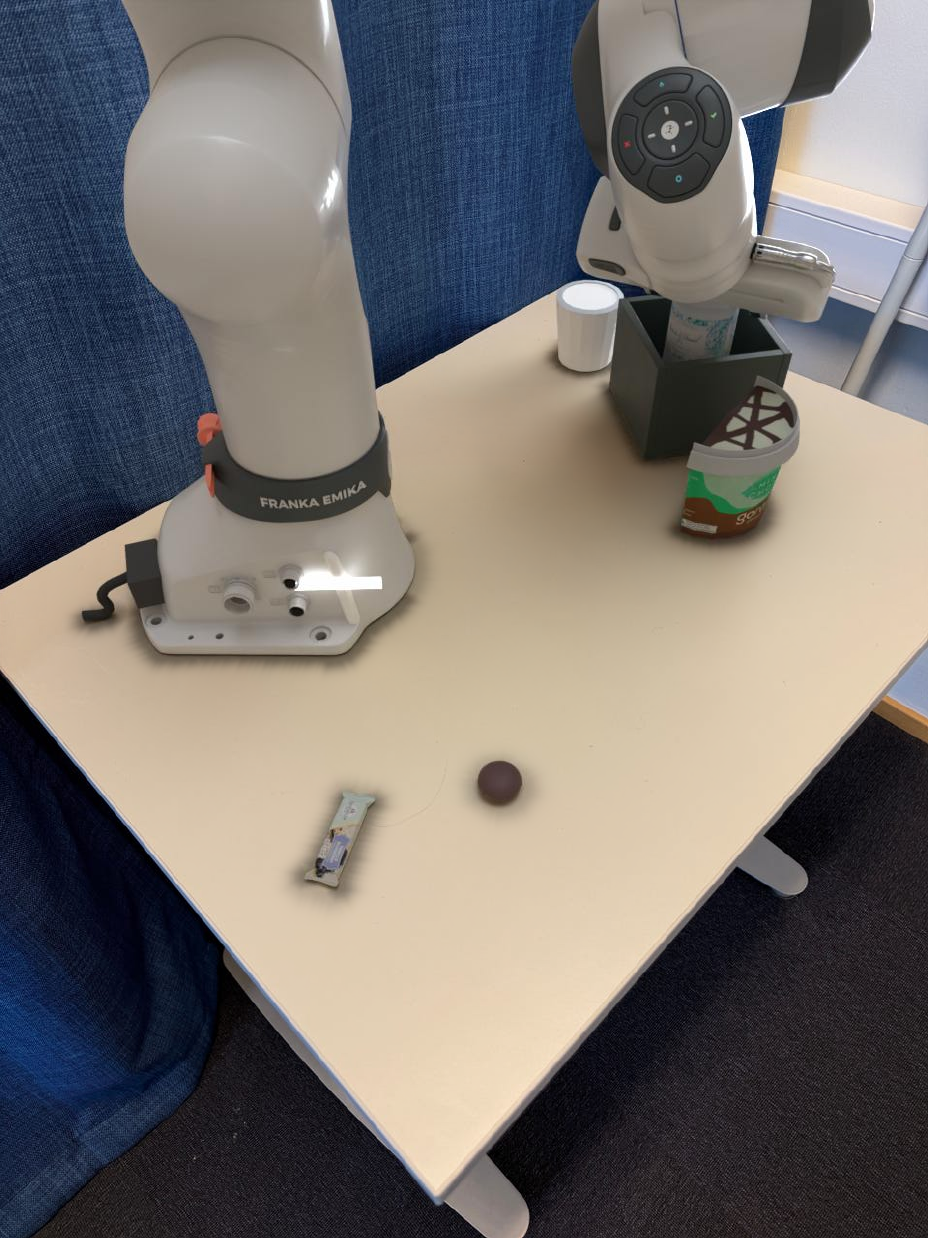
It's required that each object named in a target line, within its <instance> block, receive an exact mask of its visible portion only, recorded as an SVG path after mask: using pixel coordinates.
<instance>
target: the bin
mask: <svg viewBox="0 0 928 1238" xmlns="http://www.w3.org/2000/svg"><path fill="white" fill-rule="evenodd" d="M671 305H672V300H670V299H668V298H665V297H663V296H655V295H651V294H647V295H640V296H630V297H629V296H628V297H624V298H621V299H619V302H618V311H617V320H616V329H615V338H614V346H613V354H612V358H611V365H610V374H609V382H608V389H609V391H610V393H611V395H612V397H613V399H614V401H615V403H616V406H617V407H618V409H619V412H620V414H621V416H622V418H623V420H624V423H625V424H626V426H627V429H628V430H629V432H630V434H631V437H632V439H633V441H634V443H635V445H636V448H637V449H638V451H639V453H640V456H641V458H642V460H643V461H650V460H656V459H657V460H658V459H664V458H673V457H681V456H690V453H691V451H692V449H693V445H694V442H695V443H698V444H702V443H703V442H704V441H705V440H706V439H707V438H708V437H709V436H710V435H711V434H712V432H713V431H714V430H715V429H716V427H717V426H718V425H719V424H720V423H721V421H722V420H723V419H724V417H725V416H726V415H727V414H728V413H729V412H730V411H731V410H732V409H733V408H735V407H736V406H737V405H738V404H739V403H740V402H741V401H742V400H743V399H744V398H745V397H746V396H747V395H748V394H749V393H750V391H751V390H752V389H753V388H754V385H755V381H756V378H757V375H758V376H760V377H763V378H765V379H767V380H769V381H771V382H773V383H775V384H776V385H778V386H779V387H781V388H782V389H783V390H784V385H785V381H786V379H787V375H788V372H789V368H790V364H791V360H792V356H793V351H791V349H790V348H789V347H788V345H787V344H786V342H785V341H784V340H783V338H782V337H781V336H780V335H779V333H778V332H777V331H776V330H775V328H774V327H773V326H772V324H771V323H770V321H769V320H768V318H767V319H766V320H764V319H760V318H756V317H752V316H749V310H746V309H741V308H740V309H739V313H738V318H737V322H736V327H735V331H734V336H733V340H732V345H731V349H730V353H729V356H722V357H713V358H705V359H696V360H688V361H679V362H670V363H664V362H663V361H662V358H663V354H664V349H665V343H666V337H667V330H668V324H669V318H670V311H671Z"/></svg>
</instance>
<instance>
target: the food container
mask: <svg viewBox="0 0 928 1238" xmlns="http://www.w3.org/2000/svg"><path fill="white" fill-rule="evenodd" d="M800 431H801V418H800V415H799V410H798V407H797V405H796V402H795V401H794V399H793V398H792V396H791V395H790V394H789V393H788V392H787V391H786V390H784V388H783V389H782V388H781V387H779V386H778V385H776V384H775V383H773V382H771V381H769V380H767V379H765V378H763V377H760V376H758V375H757V378H756V381H755V385H754V388H753V389H752V390H751V391H750V393H749V394H748V395H747V396H746V397H745V398H744V399H743V400H742V401H741V402H740V403H739V404H738V405H737V406H736V407H735V408H733V409H732V410H731V411H730V412H729V413H728V414H727V415H726V416H725V417H724V419H723V420H722V421H721V423H720V424H719V425H718V426H717V427H716V429H715V430H714V431H713V432H712V434H711V435H710V436H709V437H708V438H707V439H706V440H705V441H704V442H703V443H702V444H698V443H695V442H694V445H693V449H692V451H691V453H690V455H689V456H688V460H687V464H686V468H688V469H689V470H688V476H687V482H686V489H685V496H684V502H683V509H682V515H681V523H680V528H679V532H681V533H684V534H685V535H689V536H691V537H696V538H701V539H702V538H703V539H706V540H707V539H708V540H726V539H732V538H736V537H738V536H739V537H740V536H742V535H745V534H746V533H748V532H750V531H751V530H753V529H754V528H755V527H756V526H757V525H758V524H759V522H760V520H761V519H762V516H763V513H764V511H765V509H766V505H767V503H768V501H769V498H770V496H771V493H772V491H773V489H774V486H775V483H776V481H777V478H778V476H779V473H780V471H781V468H782V466H783V465H784V464H786V463H787V462H788V461H789V460H791V458H792V457H793V456H794V455H795V454H796V452H797V450H798V448H799V444H800V433H801V432H800Z"/></svg>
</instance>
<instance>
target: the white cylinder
mask: <svg viewBox="0 0 928 1238" xmlns="http://www.w3.org/2000/svg"><path fill="white" fill-rule="evenodd" d="M621 298H625V296H624V293H623V292H622V290H621V289H620V288H619V287H617V286H615V285H613V284H612V283H609V282H606V281H601V280H593V279H581V280H576V281H571V282H569V283H566V284H565V285H562V286H561V287H560V288H559V289H558V290H557V291H556V297H555V301H556V302H555V305H556V327H557V329H556V331H557V353H558V357H557V358H558V360H559V361H560V363H561V365H563V366H564V367H566V368H568V369H569V370H572V371H577V372H585V373H586V372H587V373H591V372H595V371H600V370H602V369H604V368H606V367H608V365H609V364H610V363H611V362H612V355H613V346H614V338H615V329H616V320H617V311H618V302H619V299H621Z"/></svg>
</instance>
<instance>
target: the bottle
mask: <svg viewBox="0 0 928 1238" xmlns="http://www.w3.org/2000/svg"><path fill="white" fill-rule="evenodd" d="M739 309H740V308H737V307H732V306H727V305H723V304H718V303H714V302H709V301H702V302H696V303H682V302H677V301H673V300H672V305H671V311H670V318H669V324H668V330H667V337H666V343H665V349H664V354H663V358H662V361H663V362H664V363H670V362H679V361H688V360H696V359H705V358H713V357H722V356H729V353H730V349H731V345H732V340H733V336H734V331H735V327H736V322H737V318H738V313H739Z"/></svg>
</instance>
